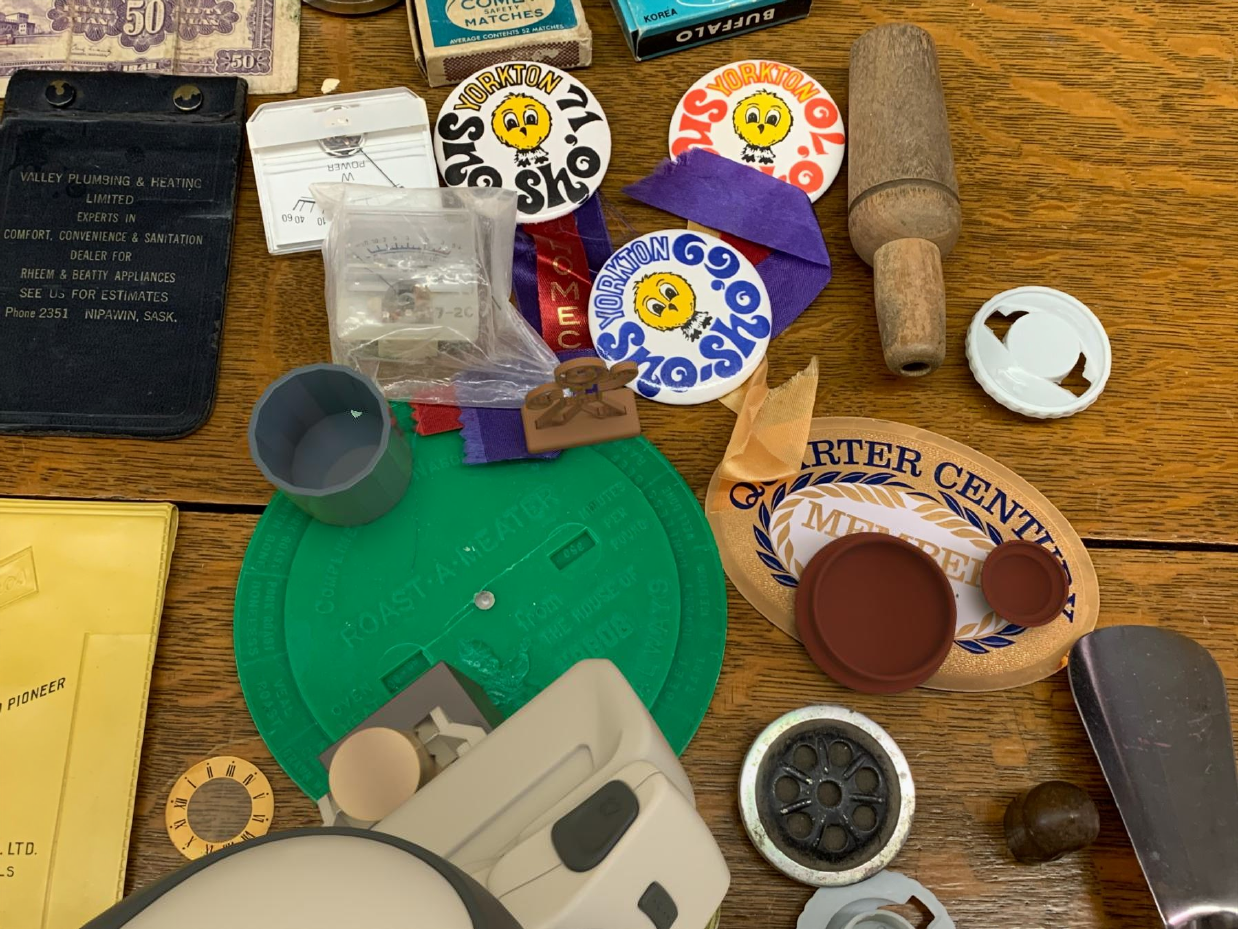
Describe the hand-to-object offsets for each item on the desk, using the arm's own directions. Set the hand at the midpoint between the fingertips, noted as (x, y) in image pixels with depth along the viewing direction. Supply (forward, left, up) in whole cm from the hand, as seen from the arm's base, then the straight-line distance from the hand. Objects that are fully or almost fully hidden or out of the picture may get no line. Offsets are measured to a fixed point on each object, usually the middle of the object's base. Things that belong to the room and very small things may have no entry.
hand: (388, 759), depth 42 cm
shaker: (0, -1, -5) cm, 5 cm away
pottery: (+33, -13, -26) cm, 44 cm away
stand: (0, -1, -25) cm, 25 cm away
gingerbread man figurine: (+22, +14, -26) cm, 37 cm away
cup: (+6, +22, -25) cm, 34 cm away
